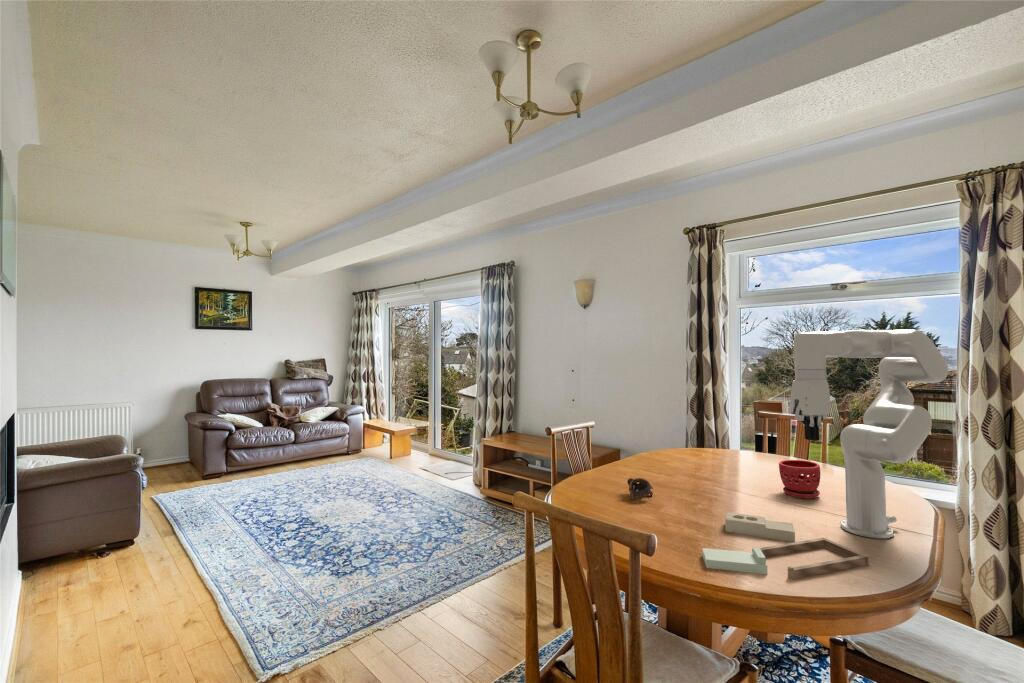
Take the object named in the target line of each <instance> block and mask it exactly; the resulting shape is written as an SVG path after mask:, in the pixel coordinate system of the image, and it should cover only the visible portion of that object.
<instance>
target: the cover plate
mask: <svg viewBox="0 0 1024 683" xmlns="http://www.w3.org/2000/svg"><path fill="white" fill-rule="evenodd" d="M760 548H761V547H755V546H754V547H753V546H752V549H753V553H752V551H751V552H749V551H742V550H741V551H740V550H738V551H737V550H729V549H717V548H706V547H702V548H701V550H702V553H701V554H702V559H703V562H704V564H705V567H706V569H713V570H725V571H733V572H734V571H736V572H743V573H745V572H746V573H751V574H752V573H755V574H761V575H762V574H763V575H764V574H765V575H768V573H769V572H768V565H767V559H766V558H767V557H765V556H764V554H763V553H762V551H761V550H760Z"/></svg>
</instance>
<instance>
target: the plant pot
mask: <svg viewBox="0 0 1024 683" xmlns="http://www.w3.org/2000/svg"><path fill="white" fill-rule="evenodd" d="M778 470H779V476H780V479H781V483H782V484H783V485H784V487H783V488H782V491H783V492H784V493H785V494H786V495H788V496H790V497H793V498H796V499H807V500H809V499H815V498H818V497H819V496H820V494H821V491H820V490H819V486H820V482H821V467H820V464H819V463H817V462H814V461H810V460H800V459H786V460H785V459H784V460H781V461H779V462H778Z"/></svg>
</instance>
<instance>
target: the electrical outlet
mask: <svg viewBox="0 0 1024 683" xmlns="http://www.w3.org/2000/svg"><path fill="white" fill-rule="evenodd" d="M726 531H729V532H728V533H733V532H734V534H741V535H748V536H754V537H760V538H767V539H773V540H779V541H786V542H791V543H794V542H796V533H795V528H794V524H793V522H787V521H777V520H771V519H766V518H765V517H764V516H760V515H752V514H745V513H736V512H731V511H730V512H728V511H727V512H726V513H725V532H726Z"/></svg>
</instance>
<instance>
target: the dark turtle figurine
mask: <svg viewBox="0 0 1024 683" xmlns="http://www.w3.org/2000/svg"><path fill="white" fill-rule="evenodd" d="M627 485H628V492H629V495H628V496H629V498H630V497H631V498H633V499H643V498H644V497H647V496H650V495H654V493H653V489H654V488H653V486H652V485H651V483H650V481H648V480H647V479H645V478H642V477H636V478H631V477H630V478H629V479H627ZM649 494H650V495H649Z"/></svg>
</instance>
